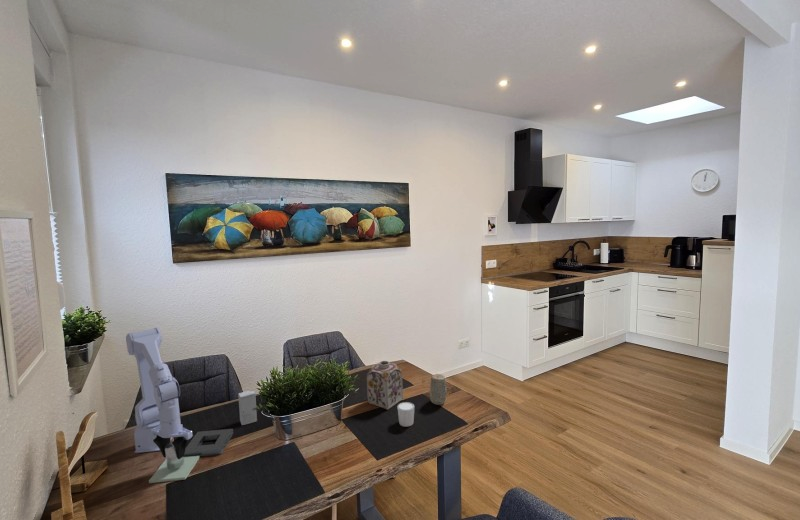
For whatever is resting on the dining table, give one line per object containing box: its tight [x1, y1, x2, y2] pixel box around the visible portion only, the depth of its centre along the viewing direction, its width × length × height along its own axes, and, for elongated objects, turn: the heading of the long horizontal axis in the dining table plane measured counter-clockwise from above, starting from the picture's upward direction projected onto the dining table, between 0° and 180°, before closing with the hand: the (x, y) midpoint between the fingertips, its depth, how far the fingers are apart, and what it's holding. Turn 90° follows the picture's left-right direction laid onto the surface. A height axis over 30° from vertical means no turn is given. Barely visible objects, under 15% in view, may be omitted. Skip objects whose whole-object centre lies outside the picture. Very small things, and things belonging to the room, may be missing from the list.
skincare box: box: [237, 389, 258, 426], centre depth 155 cm, size 6×4×12 cm
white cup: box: [396, 401, 415, 427], centre depth 150 cm, size 7×7×7 cm
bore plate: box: [184, 428, 234, 457], centre depth 140 cm, size 13×13×2 cm
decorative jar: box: [366, 360, 404, 410], centre depth 168 cm, size 12×12×18 cm
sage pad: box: [148, 456, 201, 484], centre depth 126 cm, size 11×11×1 cm
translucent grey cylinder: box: [165, 440, 184, 469], centre depth 126 cm, size 5×5×7 cm
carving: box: [429, 373, 447, 406], centre depth 165 cm, size 6×8×12 cm
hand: (174, 456), depth 126 cm, fingers closed on translucent grey cylinder, 5 cm apart
